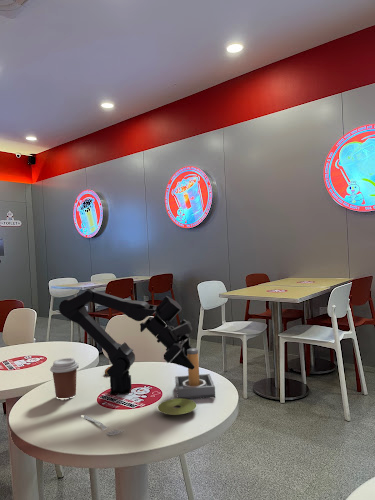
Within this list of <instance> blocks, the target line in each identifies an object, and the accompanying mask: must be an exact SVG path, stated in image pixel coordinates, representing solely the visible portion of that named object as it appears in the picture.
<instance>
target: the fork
mask: <svg viewBox="0 0 375 500" xmlns="http://www.w3.org/2000/svg"><path fill="white" fill-rule="evenodd" d="M84 415H85V416H84V418H85V419H84V418H83V419H84V420H86V419H87V421H89V422H93V423H96V424H99V426H100V427H101V431H105V430H106V429H108V428H109V427H108V426H106V425H104V424H103V423H102V422H101V421H98V420H96V419H93V418H92V417H90V416H88V415H87V414H84ZM86 415H87V416H86ZM123 432H124V430H118V429H117V430H116V429H113V430H110V431H107V432H106V433H104V434H105V435H107V436H116V435H117V434H121V433H123Z"/></svg>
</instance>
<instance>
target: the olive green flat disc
mask: <svg viewBox="0 0 375 500" xmlns="http://www.w3.org/2000/svg"><path fill="white" fill-rule="evenodd" d="M157 406H158V407H157V409H158V411H159V412H160V413H163V414H165V415H171V416H177V415H185V414H187V413H188V414H189V413H191V412H193V411H194V410H195V409H196V408H197V403H196V401H194V400H193V399H190V400H189V399H182V398H179V399H177V398H171V399H167V400H164V401H162V402H160V403H159V405H157Z"/></svg>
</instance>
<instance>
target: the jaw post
mask: <svg viewBox="0 0 375 500" xmlns="http://www.w3.org/2000/svg"><path fill="white" fill-rule="evenodd" d="M187 357H188V359H189V360H190V361H191V362H192V364H193V365H194V367H195V368H194V369H193V370H192V369H189V368H187V371H188V373H187V374H188V375H187V376H189V386H200V379H199V375H200V367H199V365H200V363H199V362H200V361H199V349H198V348H195V347H194V348H193V347H192V348H191V349H188V350H187Z"/></svg>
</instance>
